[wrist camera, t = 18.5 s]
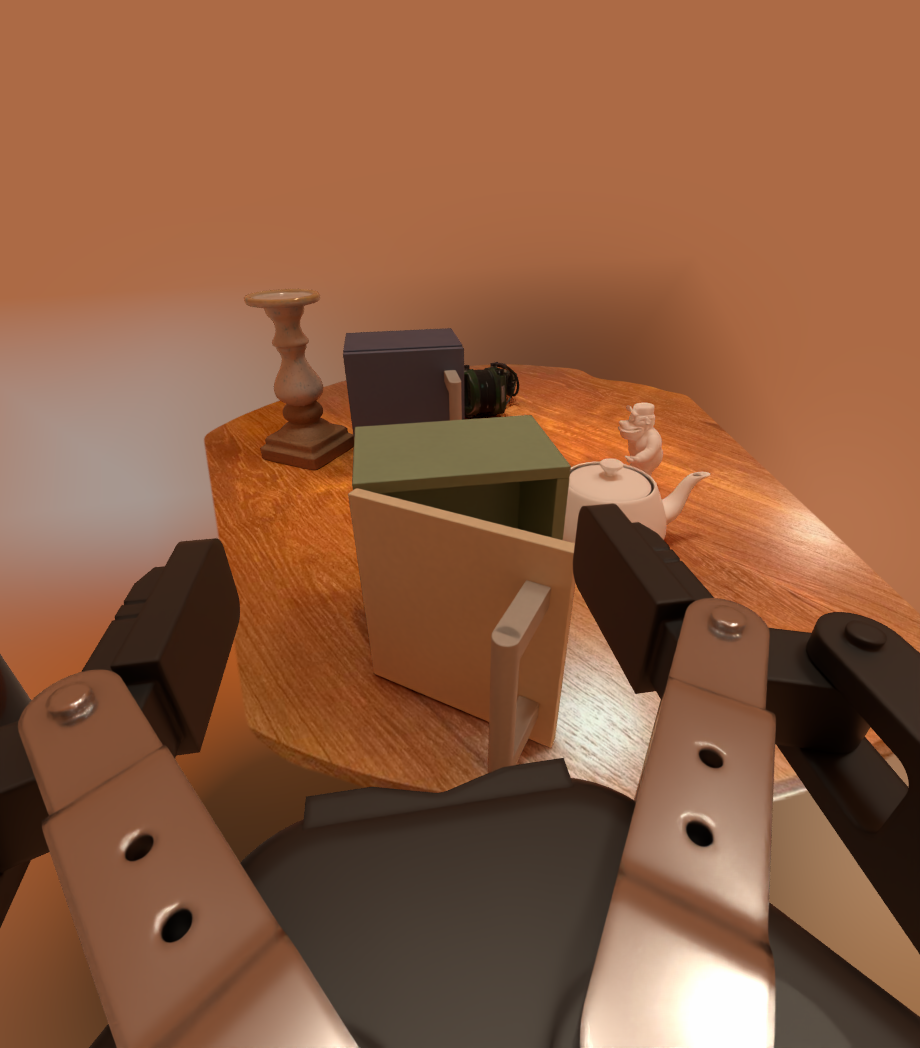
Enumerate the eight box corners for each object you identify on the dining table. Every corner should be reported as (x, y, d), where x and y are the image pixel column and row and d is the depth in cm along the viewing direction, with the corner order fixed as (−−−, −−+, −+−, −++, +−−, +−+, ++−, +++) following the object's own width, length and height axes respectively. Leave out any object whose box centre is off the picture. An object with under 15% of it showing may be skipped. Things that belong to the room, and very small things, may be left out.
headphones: (544, 388, 94) (510, 375, 112) (492, 336, 88) (464, 331, 106) (495, 446, 96) (469, 424, 114) (441, 398, 90) (422, 383, 108)
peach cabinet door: (522, 819, 34) (540, 615, 25) (330, 725, 41) (287, 535, 31) (555, 738, 40) (580, 544, 30) (380, 666, 46) (356, 487, 36)
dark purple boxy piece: (463, 464, 81) (462, 344, 71) (358, 473, 79) (343, 350, 69) (453, 437, 90) (451, 328, 80) (359, 444, 88) (345, 333, 78)
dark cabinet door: (471, 484, 75) (471, 359, 65) (358, 494, 73) (341, 366, 63) (464, 464, 80) (462, 346, 71) (358, 472, 78) (343, 352, 69)
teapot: (528, 589, 55) (534, 499, 49) (502, 522, 66) (504, 443, 61) (725, 570, 57) (752, 482, 51) (666, 508, 69) (684, 431, 63)
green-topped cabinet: (552, 643, 48) (571, 465, 39) (377, 664, 46) (352, 483, 37) (521, 571, 57) (531, 414, 48) (375, 587, 55) (354, 426, 46)
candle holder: (315, 470, 79) (285, 302, 67) (260, 458, 84) (222, 297, 71) (357, 444, 88) (337, 290, 75) (305, 434, 92) (278, 286, 79)
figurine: (597, 474, 77) (609, 394, 71) (641, 471, 78) (656, 392, 71) (619, 504, 70) (633, 418, 63) (666, 501, 70) (686, 416, 64)
